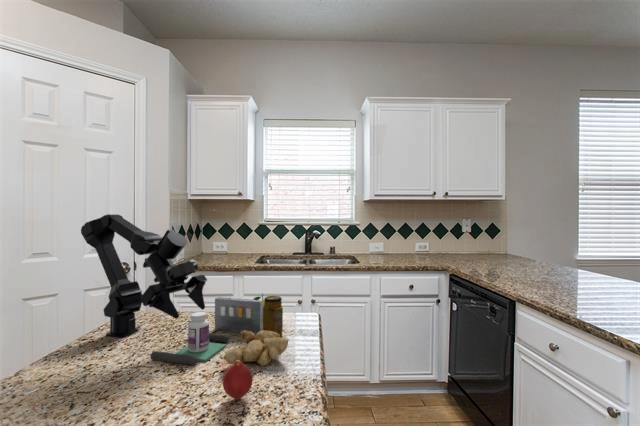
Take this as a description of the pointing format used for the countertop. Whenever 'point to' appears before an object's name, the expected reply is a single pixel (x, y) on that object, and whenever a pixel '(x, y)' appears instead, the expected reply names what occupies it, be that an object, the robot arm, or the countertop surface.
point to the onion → (237, 380)
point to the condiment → (273, 315)
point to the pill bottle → (198, 333)
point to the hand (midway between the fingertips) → (191, 312)
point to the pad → (204, 352)
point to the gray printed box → (238, 314)
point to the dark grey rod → (218, 337)
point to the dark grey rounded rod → (174, 358)
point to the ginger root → (258, 348)
